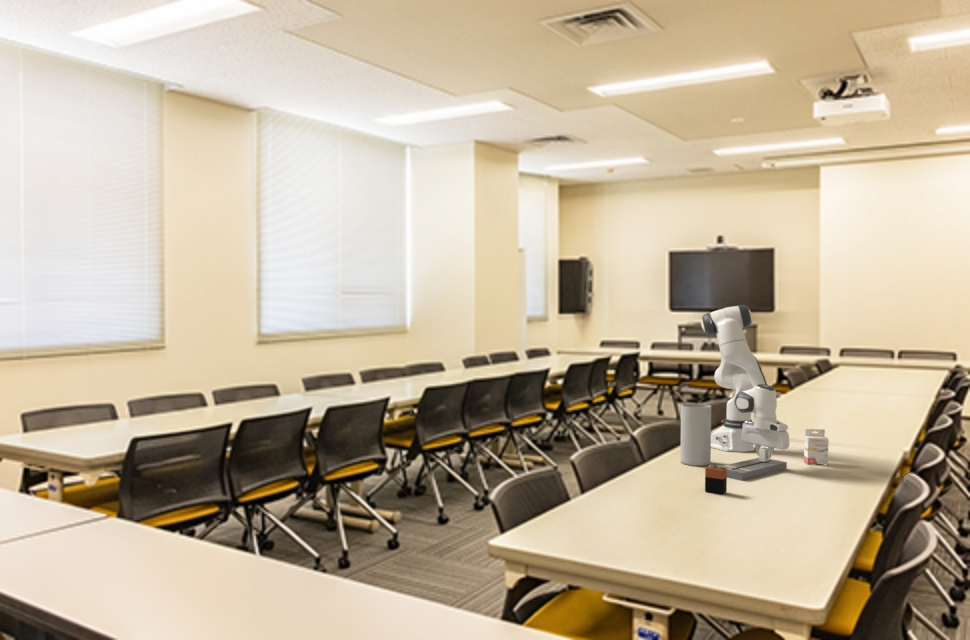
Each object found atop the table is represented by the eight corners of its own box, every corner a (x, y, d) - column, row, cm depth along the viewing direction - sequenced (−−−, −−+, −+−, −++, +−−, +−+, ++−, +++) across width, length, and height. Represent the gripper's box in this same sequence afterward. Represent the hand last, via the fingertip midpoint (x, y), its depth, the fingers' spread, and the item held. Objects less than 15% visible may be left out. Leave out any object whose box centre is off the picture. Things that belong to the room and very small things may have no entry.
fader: (759, 465, 309) (759, 448, 308) (764, 464, 311) (764, 447, 311) (764, 466, 307) (764, 449, 306) (769, 465, 309) (769, 448, 309)
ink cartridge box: (807, 464, 317) (808, 430, 316) (803, 462, 322) (804, 428, 321) (828, 465, 316) (829, 431, 316) (824, 462, 321) (824, 429, 321)
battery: (723, 495, 268) (723, 467, 268) (704, 492, 272) (704, 465, 271) (726, 492, 271) (727, 465, 271) (708, 489, 275) (708, 462, 275)
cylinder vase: (714, 466, 313) (715, 407, 312) (684, 466, 313) (685, 407, 312) (705, 460, 326) (706, 403, 325) (677, 459, 325) (677, 403, 325)
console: (715, 474, 298) (715, 467, 298) (760, 464, 318) (760, 457, 318) (742, 480, 289) (742, 472, 289) (786, 469, 308) (786, 462, 308)
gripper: (738, 421, 315) (738, 453, 315) (783, 428, 298) (782, 462, 299) (747, 419, 318) (746, 451, 319) (791, 426, 302) (791, 460, 303)
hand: (764, 456), depth 309 cm, fingers closed on fader, 2 cm apart
